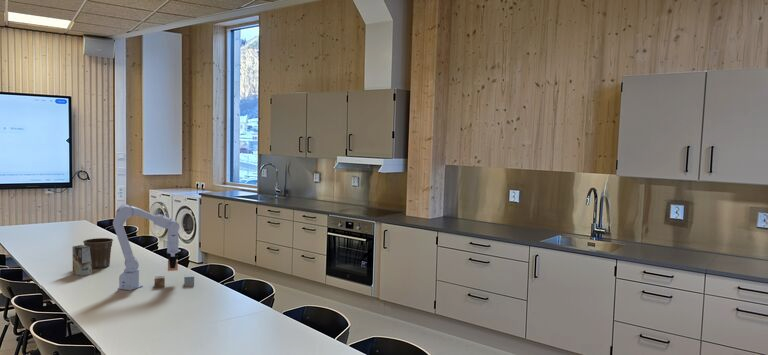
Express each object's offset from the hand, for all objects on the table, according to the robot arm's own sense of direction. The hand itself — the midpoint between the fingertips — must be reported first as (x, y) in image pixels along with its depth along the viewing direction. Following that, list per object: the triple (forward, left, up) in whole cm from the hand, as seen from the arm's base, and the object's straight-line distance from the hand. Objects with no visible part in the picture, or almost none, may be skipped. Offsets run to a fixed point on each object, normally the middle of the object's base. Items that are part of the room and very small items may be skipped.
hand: (172, 266), depth 302 cm
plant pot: (+13, +66, -10) cm, 68 cm away
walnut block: (-7, +3, -10) cm, 12 cm away
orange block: (0, 0, -2) cm, 2 cm away
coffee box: (-5, +59, -10) cm, 60 cm away
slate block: (+3, -9, -10) cm, 13 cm away
